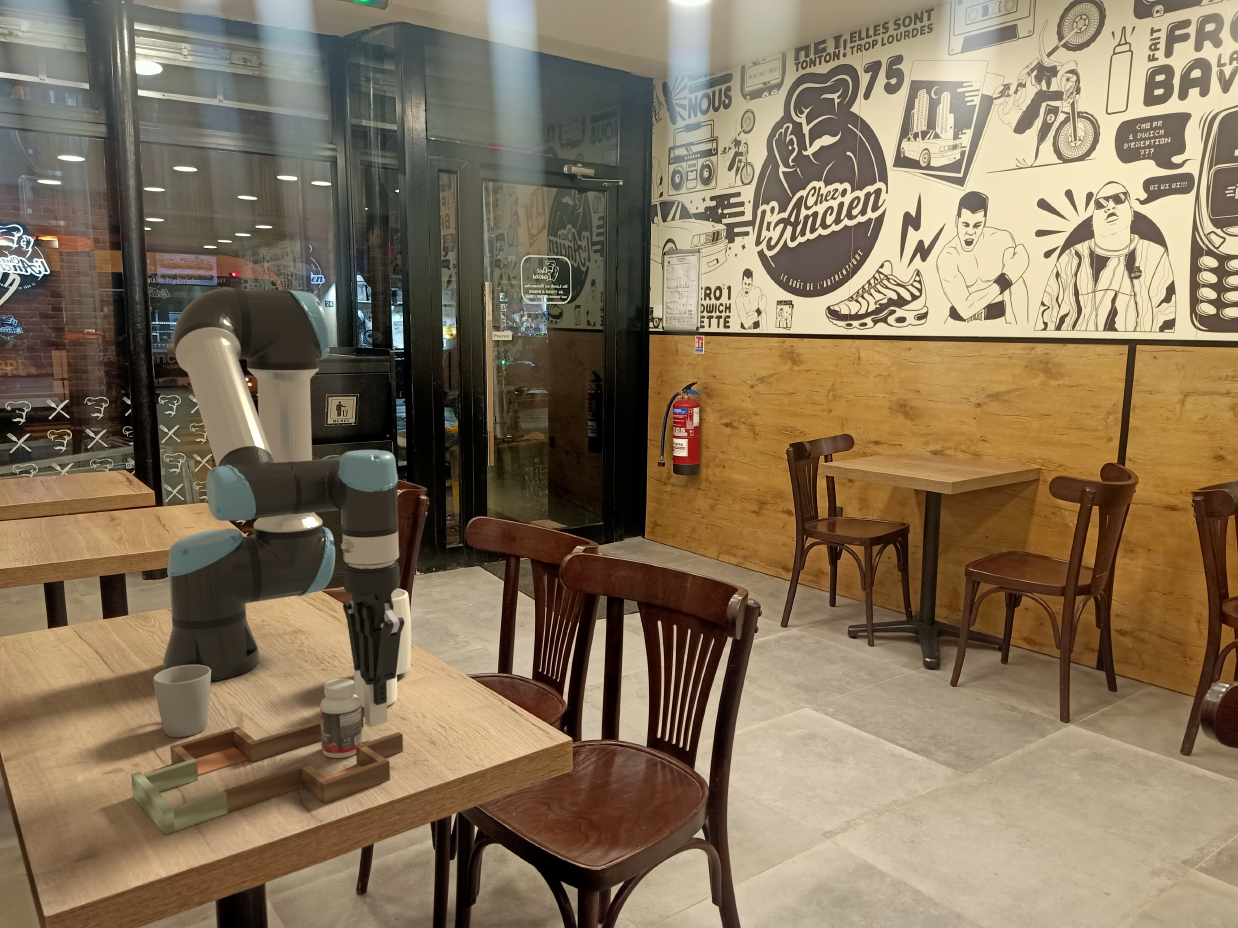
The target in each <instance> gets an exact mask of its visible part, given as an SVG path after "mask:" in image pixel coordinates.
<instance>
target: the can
mask: <svg viewBox="0 0 1238 928" xmlns="http://www.w3.org/2000/svg"><path fill="white" fill-rule="evenodd" d="M353 681H354V683H355V693H354V694H355V695H357V696H358V697H359V698H360V701H361V709H364V710H365V707H364V679H362V678H361V675H360V671H356V670H355V669H354V668H353ZM386 686H387V708H388V707H390V706H392V705H393V704H395V702H396V700H398V675H397V671H396V678H394V679H391V680H388V681H387V683H386Z"/></svg>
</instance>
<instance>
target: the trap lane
mask: <svg viewBox="0 0 1238 928" xmlns="http://www.w3.org/2000/svg"><path fill="white" fill-rule="evenodd" d="M364 725H365V720H364V710H363V709H361V726H362V728H364ZM403 737H404V736H403V733H401V732H400V731H397V732H395V733H391V734H388V735H385V736H382V737H380V738H379V737H378V738H376V739H374V740H373V739H372V740H370V741H368V742H364V743H362V744H361V745H358V746H356V754H355V757H356V759H355V761H356V766H355V767H352V768H349V769H346V770H343V771H340V772H337V773H334V774H332V775H329V776H326V777H325V776H324V775H323V774H322V773H321V772H319V771H318V770H317V769H315V768H314V767H312V766H311V765H310V764H309V763H308V762H305V763H302V764H298V765H296V766H292V767H290V768H287V769H284V770H281V771H277V772H275V773H272V774H269V775H267V776H262V777H260V778H257V779H252V780H251V781H247V782H245V783H242V784H239V785H236V786H233V787H230V788H227V789H224V790H221V791H218V792H215V793H212V794H209V795H206V796H203V797H200V798H198V799H194V800H191V801H187V802H185V803H181V804H180V805H176V806H173V805H172V804H171V803H170V802H169V801H168V800H167V798H165V796H163V794H162V793H161V792H164V791H167V790H170V789H174V788H176V787H179V786H183V785H186V784H189V783H192V782H195V781H199V776H202V775H205V774H208V773H211V772H214V771H217V770H220V769H224V768H226V767H229V766H230V767H231V766H234V765H236V764H240V763H242V762H245V761H250V762H251V763H255V762H257V761H260V760H261V761H262V760H264V759H267V758H270V757H273V756H276V755H280V754H282V753H286V752H289V751H292V750H295V749H299V748H302V747H305V746H309V745H311V744H313V743H317V742H321V719H320V720H317V721H315V722H311V723H308V724H304V725H301V726H298V727H294V728H292V729H287V730H285V731H281V732H278V733H275V734H271V735H267V736H265V737H261V738H259V739H255V738H253V737H252V736H251V735H249V733H247V732H246V731H244V730H243V729H242V728H241V727H240V726H235V727H232V728H228V729H225V730H221V731H218V732H217V731H216V732H215V733H211V734H207V735H203V736H200V737H197V738H193V739H191V740H186V741H183V742H180V743H175V744H172V745H170V760H171V761H170V762H171V765H170V766H166V767H163V768H160V769H157V770H152V771H150V772H147V773H142V772H141V771H138V772H133V773H131V774H130V775H131V776H130V777H131V789H132V798H133V799H134V800H135V801H136V802H137V804H138V805H140V807H141V808H142V810H144V811H145V813H146V814H147V815H148V816H149V817H150V819H151V820H152V821H153V822H154V823H155V824H156V825H157V827H158V828H159V829H160V830H161V832H163V834H165V835H169V834H173V833H175V832H179V831H181V830H183V829H186V828H189V827H191V826H196V825H198V824H200V823H203V822H206V821H209V820H213V819H214V818H218V817H220V816H223V815H227V814H228V813H232V812H234V811H237V810H240V809H242V808H243V809H244V808H245V807H249V806H252V805H255V804H257V803H260V802H263V801H266V800H269V799H271V798H274V797H277V796H280V795H282V794H286V793H288V792H292V791H295V790H297V789H299V788H304V789H306V790H307V791H308V792H309V793H311V794H312V795H313V796H314V797H316V798H317V799H318V800H319V801H321V802H322V803H323V804H328V803H330V802H333V801H336V800H339V799H342V798H344V797H345V798H346V796H347V797H348V796H350V795H353V794H355V793H358V792H361V791H364V790H366V789H369V788H371V787H373V786H374V787H375V786H376V785H379V784H382V783H385V782H388V781H391V776H390V775H391V769H390V768H391V765H390V760H388V759H386V758H388V757H391V756H393V755H396V754H399V753H403V752H404V743H403V742H404V739H403Z"/></svg>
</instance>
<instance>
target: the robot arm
mask: <svg viewBox="0 0 1238 928" xmlns="http://www.w3.org/2000/svg"><path fill="white" fill-rule="evenodd" d="M330 347H331V333H330V326H329V321H328V318H327V314H326V311H325V309H324V307H323V305H322V303H321V301H320V300H319V298H318V297H317V296H316V295H314V294H313V293H311V292H307V291H299V290H291V289H255V288H254V289H253V288H252V289H250V288H249V289H247V288H234V287H233V288H232V287H230V288H229V287H227V288H226V287H223V288H217V289H213V290H209V291H206V292H204V293H203V294H201V295H199V296H197V298H195V299H194V300H192V301H191V302H190V303H189V304H188V305H187V306H186V307H185V308H184V309H183V311H182V312H181V313H180V315H179V317H178V318H177V320H176V324H175V327H174V328H173V334H172V348H173V353H174V355H175V359H176V361H177V363H178V366H180V368H181V369H182V370H183V371H185V372H186V373H187V375H188V377H189V382H190V384H191V387H192V390H193V394H194V397H195V400H196V405H197V407H198V410H199V413H200V417H201V420H202V423H203V427H204V431H205V433H206V436H207V439H208V442H209V447H210V448H211V449H210V450H211V452H212V456H213V459H214V462H215V465H216V466H215V467H212V468H210V469H209V470H208V473H207V476H206V482H205V483H206V485H205V487H206V488H205V489H206V497H207V504H208V510H209V512H210V513H211V516H212V517H213V518H214V519H215V520H218V521H222V522H223V521H224V522H225V521H226V522H227V521H249V520H250V521H251V520H254V519H256V520H255V521H254V523H253V534H252V535H248V536H244V535H243V533H242V532H241V530H240V529H237V528H223V529H222V528H218V529H211V530H205V531H202V532H197V533H194V534H190V535H188V536H185V537H183V538H180V539H178V540H177V541H175V542H174V543H173V544H172V546H170V548H169V549H168V566H167V568H168V569H167V574H168V577H169V592H170V607H171V608H170V609H171V611H170V612H171V622H172V623H171V624H172V625H171V626H172V628H171V632H170V636H169V639H168V643H167V646H166V649H165V652H164V656H163V660H162V661H163V662H162V664H163V665H162V666H163V670H165V669H168V668H172V667H177V666H183V665H203V666H207V667H209V668H210V669H211V682H212V681H219V680H220V681H221V680H224V679H229V678H233V677H236V676H239V675H243V674H245V673H248V672H249V671H251V670H253V669H255V667H257V666H258V664H259V663H260V650H259V647H258V645H257V641H256V639H255V637H254V635H253V633H252V630H251V628H250V625H249V623H248V619H247V611H246V610H247V609H246V607H247V604H249V603H250V604H251V603H257V602H263V601H269V600H270V601H271V600H276V599H283V598H289V597H296V596H298V597H302V596H305V595H308V594H312V593H318V592H320V591H323V590H325V588H326V587H327V586H328V585H329V583H330V582H331V579H332V577H333V574H334V569H335V561H336V547H335V545H334V543H335V540H334V535H333V533H332V531H331V530H330V529H329V528H328V527H325V526H324V525H323V524H324V522H323V519H322V518H321V517H320V516H319V515H317V514H316V513H321V512H323V513H324V512H329V511H340V513H341V516H340V517H341V533H342V543H340V548H341V549H342V559H343V562H345V564H344V566H343V567H342V569H343V571H342V572H343V575H342V576H343V588H344V591H345V592H346V593H348V594H351V601H349V602H344V603H342V609H343V613H344V615H345V618H346V621H347V628H348V635H349V636H348V637H349V643H350V649H351V656H352V657H351V658H352V664H353V670H354V669H355V670H356V671H360V675H361V678H362V679H364V707H365V709H364V725H366V726H368V727H369V728H373V727H376V726H378V725H382V724H386V723H388V707H387V686H386V683H387V681H388V680H391V679H394V678H396V671H397V662H398V654H399V645H400V636H401V631H402V629H403V626H404V619H403V618H402V617H401V618H396V616H395V615H394V613H393V609H394V606H393V602H392V597H391V594H392V592H393V591H394V590H396V589H399V587H400V564H399V562H398V561H397V560H398V559H399V557H400V547H399V545H400V544H399V528H398V527H399V526H398V525H399V524H398V523H399V521H398V519H399V518H398V517H399V516H398V481H399V475H398V473H397V472H398V471H397V465H396V464H397V462H396V457H395V455H394V453H392V452H390V451H387V450H379V449H359V450H350V451H346V452H344V453H343V454H342V455H336V454H335V455H328V456H324V457H323V458H321V459H313V449H312V448H313V444H312V443H313V442H312V417H311V416H312V410H311V408H312V407H311V379H312V377H314V375H316V373H318V372H319V370H320V368H319V362H320V361H321V360H324V359H326V358H327V357H328V356H329V353H330ZM239 360H246V364H247V365H246V368H247V371H249V372H250V374H252V375H253V376H254V377H255V378H256V381H257V402H258V403H257V406H258V409H256V406H255V403H254V400H253V398H252V395H251V392H250V389H249V386H248V384H247V380H246V378H245V374H244V372H243V369H242V367H241V363H240V361H239ZM319 360H320V361H319ZM257 410H258V412H257Z"/></svg>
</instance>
